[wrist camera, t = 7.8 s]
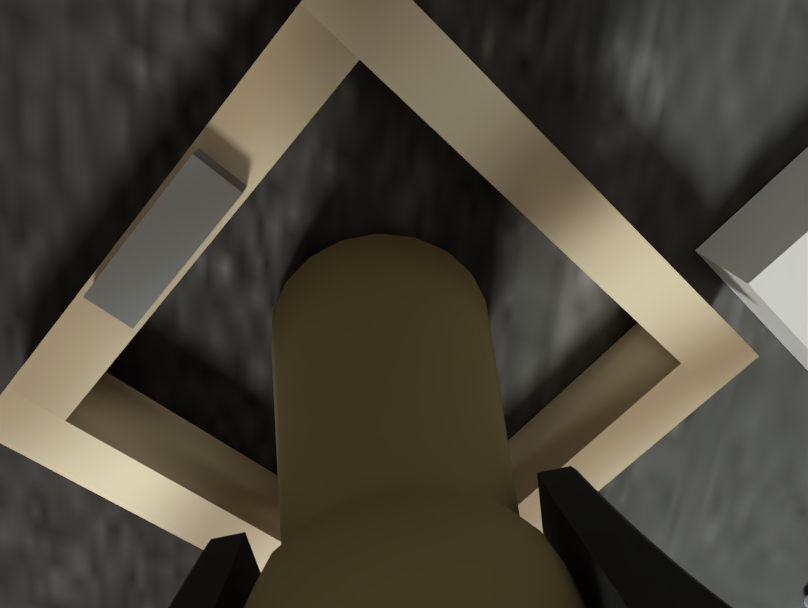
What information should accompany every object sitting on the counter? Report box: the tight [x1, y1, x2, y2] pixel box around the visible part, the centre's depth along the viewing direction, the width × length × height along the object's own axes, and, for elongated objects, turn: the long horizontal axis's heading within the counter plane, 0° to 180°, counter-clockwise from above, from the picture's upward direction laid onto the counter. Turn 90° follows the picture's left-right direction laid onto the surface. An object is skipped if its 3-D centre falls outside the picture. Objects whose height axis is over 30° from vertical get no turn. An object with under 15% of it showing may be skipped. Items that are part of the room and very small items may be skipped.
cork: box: [244, 233, 588, 608], centre depth 12 cm, size 6×6×11 cm
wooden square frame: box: [0, 0, 758, 572], centre depth 16 cm, size 14×14×3 cm
